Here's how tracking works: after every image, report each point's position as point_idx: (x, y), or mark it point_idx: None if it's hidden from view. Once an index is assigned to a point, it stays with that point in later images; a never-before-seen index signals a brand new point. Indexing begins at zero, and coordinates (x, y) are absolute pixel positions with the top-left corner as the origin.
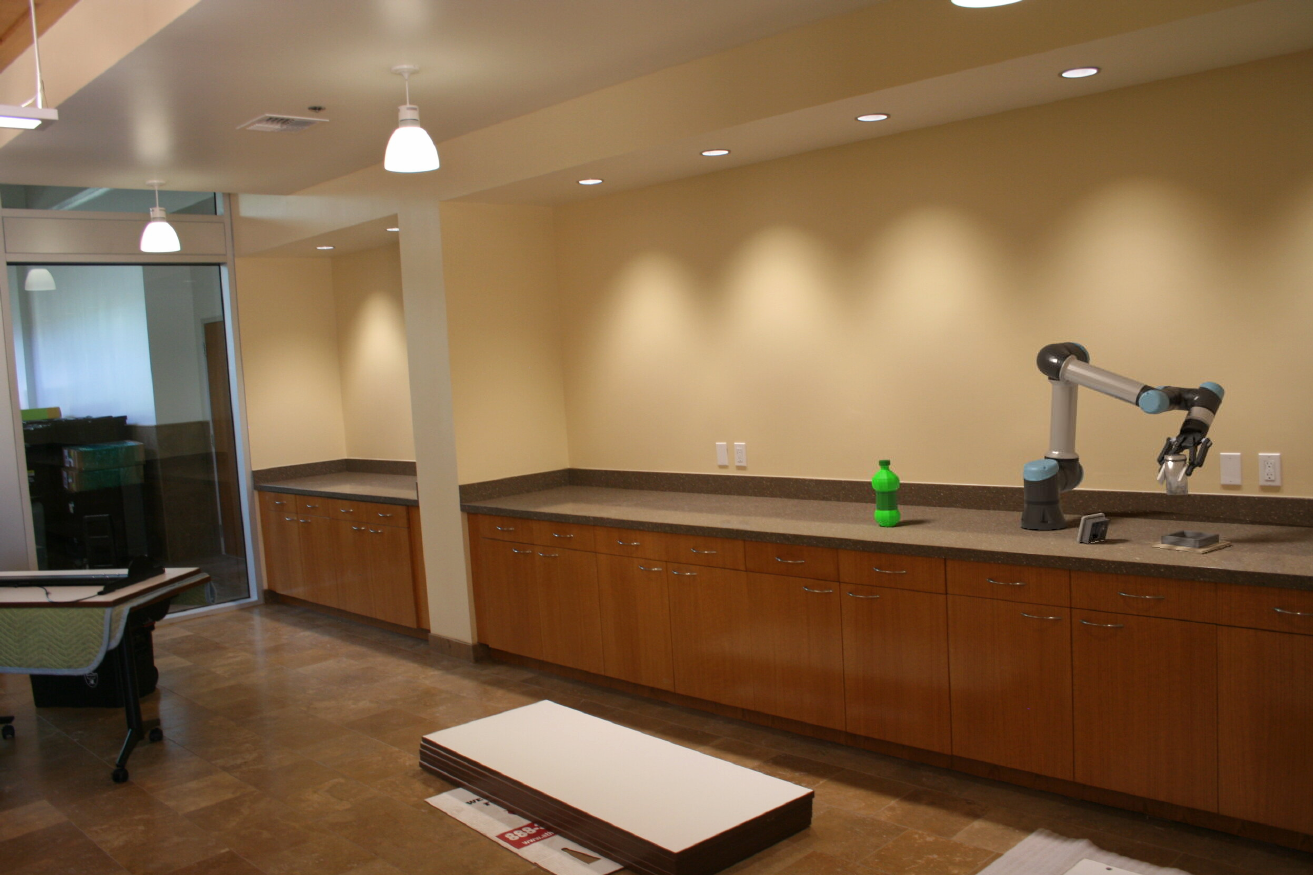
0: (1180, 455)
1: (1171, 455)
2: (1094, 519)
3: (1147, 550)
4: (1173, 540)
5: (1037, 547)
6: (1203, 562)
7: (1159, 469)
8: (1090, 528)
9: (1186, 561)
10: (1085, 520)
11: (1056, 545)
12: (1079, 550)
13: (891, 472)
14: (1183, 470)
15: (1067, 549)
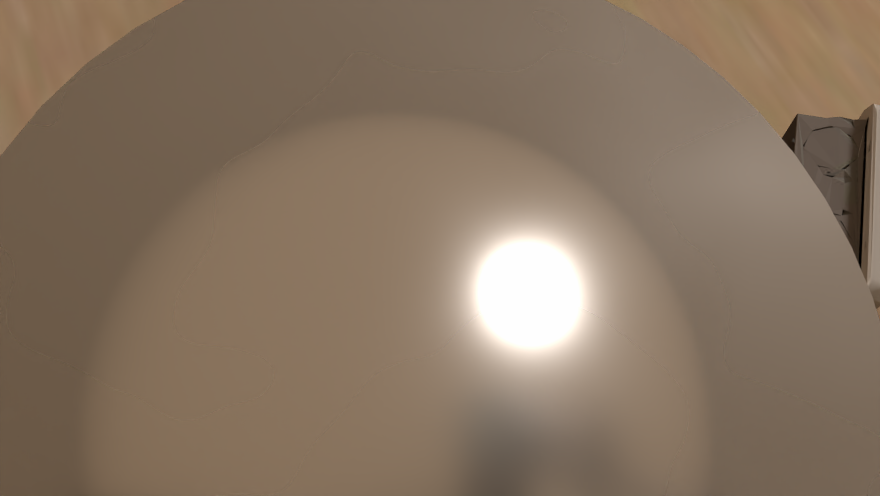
0: (187, 306)
1: (595, 275)
2: (837, 178)
3: None
4: None
5: (874, 26)
6: (26, 14)
7: None
8: (786, 138)
9: (119, 4)
10: (857, 126)
11: (842, 101)
12: (688, 39)
13: None
14: None
15: (744, 38)
